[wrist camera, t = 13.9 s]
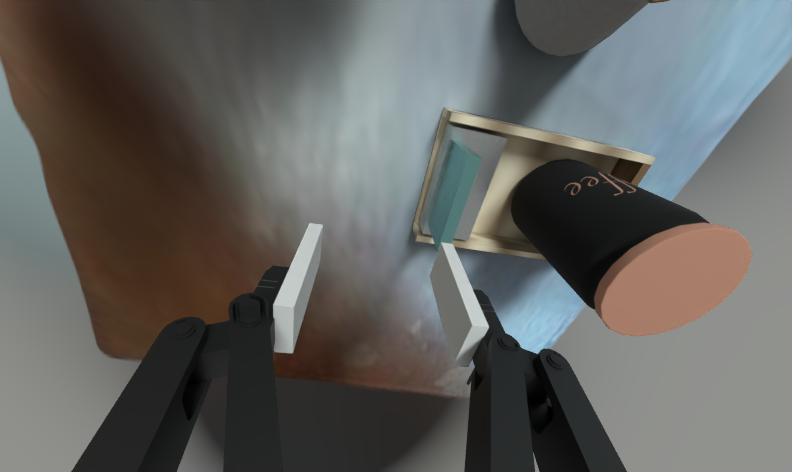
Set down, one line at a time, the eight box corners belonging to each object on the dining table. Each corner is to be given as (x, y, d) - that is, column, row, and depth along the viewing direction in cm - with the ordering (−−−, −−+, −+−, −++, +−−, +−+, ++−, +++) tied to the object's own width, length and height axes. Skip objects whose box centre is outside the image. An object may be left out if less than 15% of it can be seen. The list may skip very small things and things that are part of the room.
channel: (412, 225, 38) (415, 241, 35) (443, 107, 31) (452, 112, 27) (567, 249, 42) (584, 265, 38) (628, 149, 34) (656, 157, 31)
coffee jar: (607, 172, 35) (787, 252, 20) (555, 240, 40) (667, 347, 25) (538, 143, 33) (681, 207, 17) (491, 219, 38) (571, 322, 22)
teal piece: (418, 221, 37) (429, 261, 29) (446, 121, 31) (469, 138, 23) (461, 228, 38) (483, 268, 30) (496, 132, 32) (535, 152, 24)
